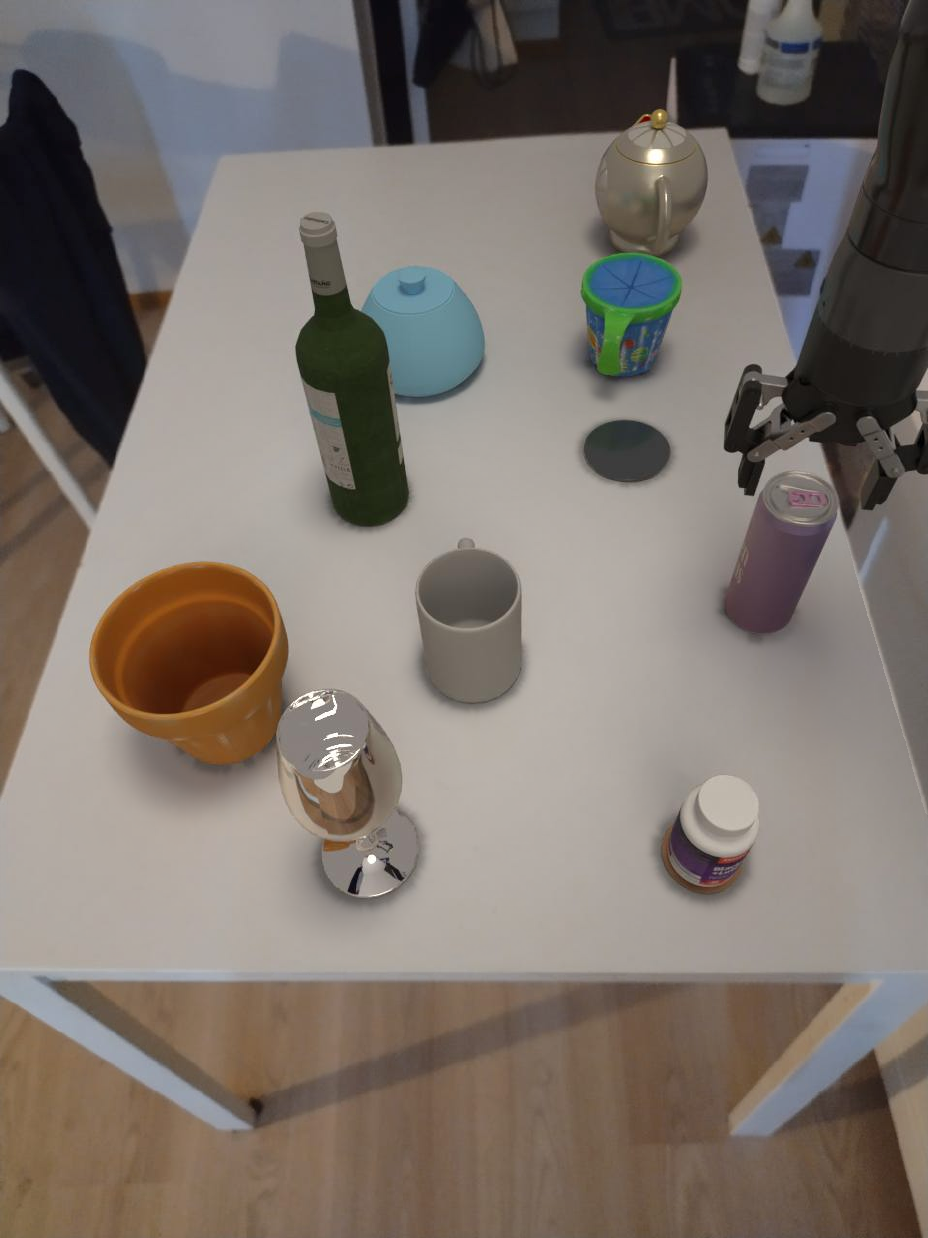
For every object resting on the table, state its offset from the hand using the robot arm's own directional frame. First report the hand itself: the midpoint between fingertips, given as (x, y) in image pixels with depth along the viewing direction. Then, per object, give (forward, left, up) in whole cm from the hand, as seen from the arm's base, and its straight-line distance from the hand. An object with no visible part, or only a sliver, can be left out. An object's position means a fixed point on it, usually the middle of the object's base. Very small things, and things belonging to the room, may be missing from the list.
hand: (806, 494), depth 65 cm
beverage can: (0, -1, -16) cm, 16 cm away
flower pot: (+44, +19, -16) cm, 50 cm away
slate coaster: (+14, -19, -16) cm, 28 cm away
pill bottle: (+4, +23, -16) cm, 28 cm away
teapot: (+15, -57, -16) cm, 61 cm away
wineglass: (+29, +28, -16) cm, 43 cm away
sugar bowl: (+39, -30, -16) cm, 52 cm away
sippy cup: (+16, -34, -16) cm, 41 cm away
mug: (+25, +8, -16) cm, 31 cm away
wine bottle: (+39, -8, -16) cm, 43 cm away
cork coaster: (+4, +23, -16) cm, 28 cm away
